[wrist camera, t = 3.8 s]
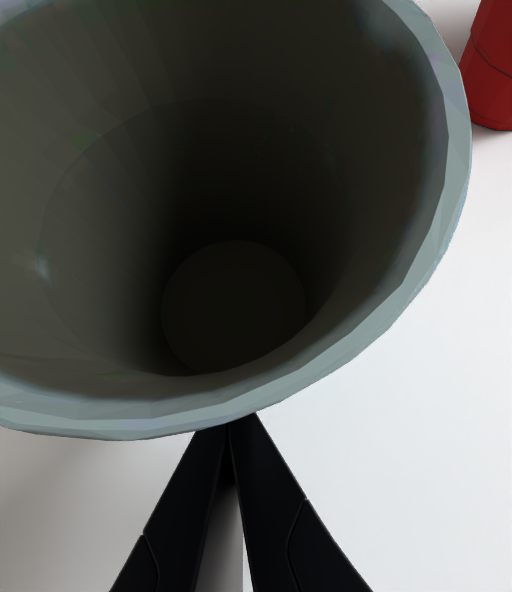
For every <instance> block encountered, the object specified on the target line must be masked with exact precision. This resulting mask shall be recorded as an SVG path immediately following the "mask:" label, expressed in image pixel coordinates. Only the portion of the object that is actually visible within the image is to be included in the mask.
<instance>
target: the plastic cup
mask: <svg viewBox="0 0 512 592" xmlns="http://www.w3.org/2000/svg"><path fill="white" fill-rule="evenodd" d="M458 68H459V70H460V73H461V77H462V81H463V86H464V90H465V94H466V99H467V104H468V109H469V115H470V120H472V121H473V122H475V123H476V124H478V125H481V126H485V127H488V128H491V129H495V130H512V0H481V3H480V5H479V8H478V11H477V13H476V16H475V19H474V22H473V24H472V27H471V35H470V38H469V40H468V43H467V45H466V48H465V50H464V53H463V55H462V58H461V60H460V63H459V66H458Z"/></svg>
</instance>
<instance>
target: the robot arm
mask: <svg viewBox="0 0 512 592" xmlns="http://www.w3.org/2000/svg"><path fill="white" fill-rule="evenodd" d="M243 532H244V538H245V544H246V550H247V556H248V563H249V569H250V575H251V581H252V587H253V592H373V591H372V590H371V588H370V587H369V586H368V584H367V583H366V582H365V581H364V579H363V578H362V577H361V575H360V574H359V573H358V572H357V570H356V569H355V568H354V566H353V565H352V564H351V562H350V561H349V560H348V558H347V557H346V555H345V554H344V553H343V551H342V550H341V549H340V547H339V546H338V544H337V543H336V542H335V540H334V539H333V537H332V536H331V534H330V533H329V531H328V530H327V528H326V527H325V525H324V523H323V522H322V520H321V519H320V517H319V516H318V514H317V513H316V511H315V509H314V508H313V506H312V504H311V503H310V501H309V500H308V499H307V497H306V495H305V493H304V491H303V490H302V488H301V487H300V485H299V483H298V482H297V480H296V478H295V477H294V475H293V473H292V472H291V470H290V468H289V467H288V465H287V463H286V462H285V460H284V458H283V457H282V455H281V454H280V452H279V450H278V449H277V447H276V445H275V444H274V442H273V440H272V439H271V437H270V435H269V434H268V432H267V430H266V429H265V427H264V425H263V424H262V422H261V421H260V419H259V417H258V416H257V414H256V412H254V413H251V414H249V415H247V416H244V417H242V418H239V419H236V420H233V421H230V422H227V423H224V424H220V425H217V426H213V427H210V428H206V429H203V430H198V431H196V432H195V433H194V435H193V437H192V439H191V441H190V443H189V445H188V447H187V449H186V450H185V452H184V454H183V456H182V458H181V460H180V462H179V464H178V465H177V467H176V469H175V471H174V473H173V475H172V477H171V479H170V481H169V482H168V484H167V486H166V488H165V490H164V492H163V494H162V496H161V497H160V499H159V501H158V503H157V505H156V507H155V509H154V511H153V513H152V514H151V516H150V518H149V520H148V522H147V524H146V526H145V528H144V529H143V535H140V537H139V538H138V540H137V542H136V544H135V546H134V548H133V550H132V552H131V554H130V555H129V557H128V559H127V561H126V563H125V564H124V566H123V568H122V570H121V572H120V573H119V575H118V577H117V579H116V581H115V582H114V584H113V586H112V588H111V589H110V591H109V592H243Z"/></svg>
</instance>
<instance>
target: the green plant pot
mask: <svg viewBox="0 0 512 592" xmlns="http://www.w3.org/2000/svg"><path fill="white" fill-rule="evenodd" d="M471 162H472V131H471V120H470V115H469V109H468V104H467V99H466V94H465V90H464V86H463V81H462V77H461V73H460V70H459V68H458V66H457V64H456V63H455V61H454V59H453V57H452V55H451V54H450V52H449V50H448V48H447V47H446V45H445V43H444V41H443V39H442V38H441V36H440V34H439V32H438V31H437V29H436V27H435V25H434V23H433V22H432V20H431V19H430V17H429V16H428V15H427V14H426V13H425V12H424V11H423V10H422V9H421V8H420V7H419V6H418V5H417V4H416V3H415V2H414V1H413V0H0V426H3V427H6V428H9V429H14V430H18V431H23V432H28V433H33V434H39V435H50V436H61V437H72V438H83V439H94V440H105V441H133V440H147V439H154V438H160V437H165V436H171V435H176V434H182V433H187V432H193V431H198V430H203V429H206V428H210V427H213V426H217V425H220V424H224V423H227V422H230V421H233V420H236V419H239V418H242V417H244V416H247V415H249V414H251V413H254V412H256V411H259V410H261V409H264V408H266V407H269V406H271V405H274V404H276V403H279V402H281V401H283V400H285V399H286V398H288V397H290V396H292V395H293V394H295V393H297V392H299V391H301V390H302V389H304V388H306V387H308V386H309V385H311V384H313V383H315V382H316V381H318V380H320V379H322V378H324V377H325V376H327V375H329V374H330V373H332V372H334V371H335V370H337V369H338V368H340V367H342V366H343V365H345V364H346V363H348V362H350V361H351V360H352V359H354V358H355V357H356V356H357V355H358V354H359V353H361V352H362V351H363V350H364V349H365V348H367V347H368V346H369V345H370V344H371V343H373V342H374V341H375V340H376V339H377V338H379V337H380V336H381V335H382V334H383V333H385V332H386V331H387V330H388V329H389V328H390V327H391V326H392V324H393V323H394V322H395V321H396V320H397V318H398V317H399V316H400V315H401V314H402V312H403V311H404V310H405V309H406V308H407V306H408V305H409V304H410V303H411V302H412V300H413V299H414V298H415V297H416V296H417V294H418V293H419V292H420V291H421V290H422V288H423V287H424V286H425V285H426V284H427V282H428V281H429V279H430V278H431V276H432V274H433V273H434V271H435V269H436V267H437V266H438V264H439V262H440V261H441V259H442V257H443V255H444V254H445V252H446V250H447V248H448V246H449V243H450V241H451V239H452V236H453V234H454V232H455V229H456V227H457V224H458V221H459V218H460V215H461V212H462V209H463V206H464V202H465V199H466V195H467V190H468V184H469V178H470V172H471Z"/></svg>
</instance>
